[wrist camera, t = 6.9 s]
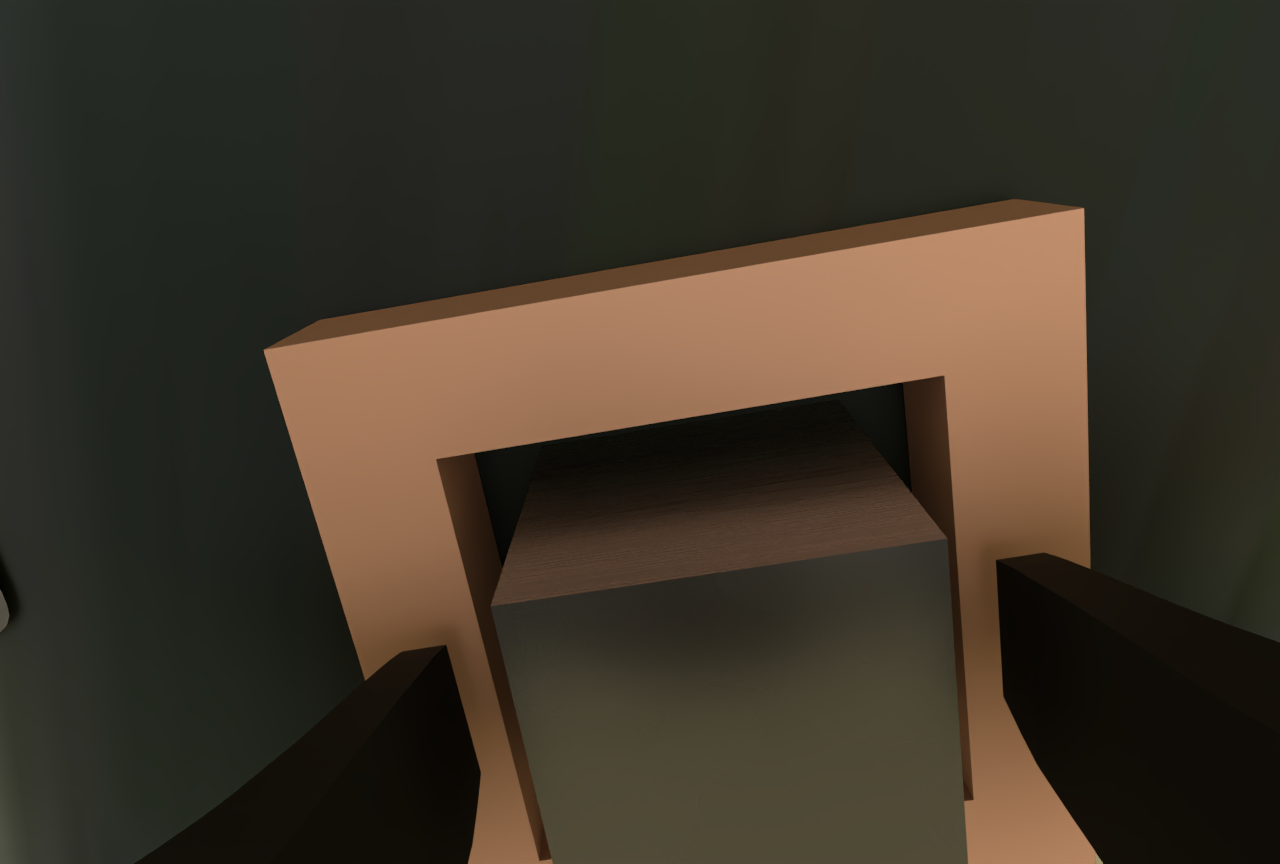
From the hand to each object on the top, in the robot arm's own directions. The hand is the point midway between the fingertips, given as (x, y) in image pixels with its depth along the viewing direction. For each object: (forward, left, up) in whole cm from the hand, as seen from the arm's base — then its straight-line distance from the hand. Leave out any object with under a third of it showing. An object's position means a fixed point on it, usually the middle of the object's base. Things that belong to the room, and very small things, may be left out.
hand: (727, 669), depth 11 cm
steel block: (0, 0, -3) cm, 3 cm away
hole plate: (0, 0, -3) cm, 3 cm away
